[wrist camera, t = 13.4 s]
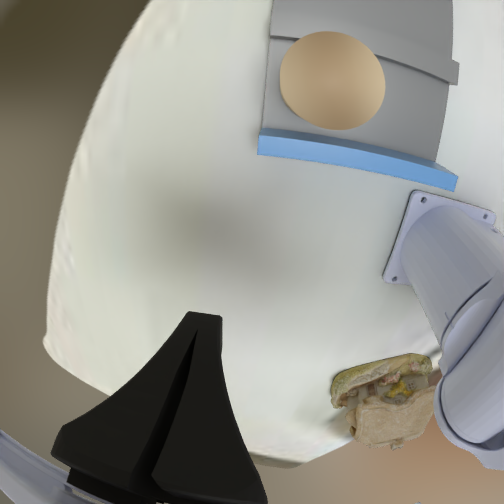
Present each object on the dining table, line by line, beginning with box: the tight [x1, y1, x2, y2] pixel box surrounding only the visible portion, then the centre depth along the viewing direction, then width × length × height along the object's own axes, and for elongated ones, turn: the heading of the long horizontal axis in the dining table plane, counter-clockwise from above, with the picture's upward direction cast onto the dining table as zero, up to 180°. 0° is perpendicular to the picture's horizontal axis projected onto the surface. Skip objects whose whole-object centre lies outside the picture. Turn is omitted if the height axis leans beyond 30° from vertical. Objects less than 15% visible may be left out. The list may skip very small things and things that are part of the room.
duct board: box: [257, 0, 459, 192], centre depth 11 cm, size 12×15×4 cm
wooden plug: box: [280, 31, 385, 130], centre depth 11 cm, size 4×4×6 cm
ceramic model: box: [331, 353, 436, 450], centre depth 26 cm, size 14×11×10 cm
